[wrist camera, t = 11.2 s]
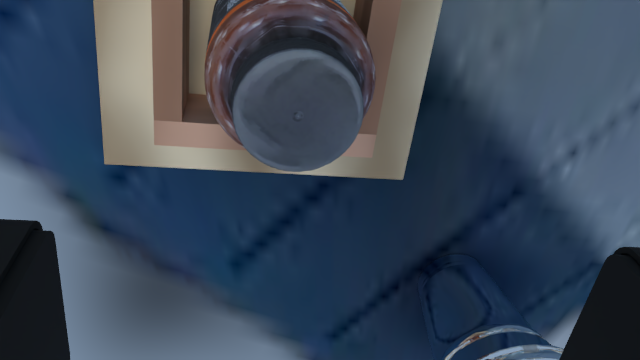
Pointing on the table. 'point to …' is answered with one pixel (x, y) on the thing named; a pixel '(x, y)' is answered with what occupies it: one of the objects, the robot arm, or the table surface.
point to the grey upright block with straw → (474, 315)
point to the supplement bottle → (288, 79)
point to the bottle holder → (191, 100)
